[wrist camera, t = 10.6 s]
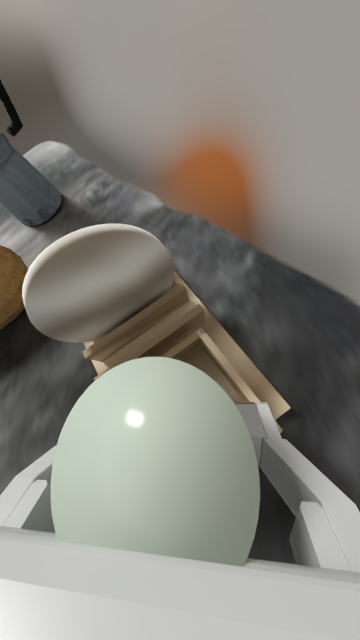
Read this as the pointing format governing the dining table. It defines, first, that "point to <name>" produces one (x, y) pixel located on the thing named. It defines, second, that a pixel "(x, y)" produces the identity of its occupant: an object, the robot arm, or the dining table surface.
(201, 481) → the pale green glossy part
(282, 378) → the dining table surface
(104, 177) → the dining table surface
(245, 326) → the dining table surface
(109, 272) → the rack
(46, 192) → the moka pot
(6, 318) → the potato
